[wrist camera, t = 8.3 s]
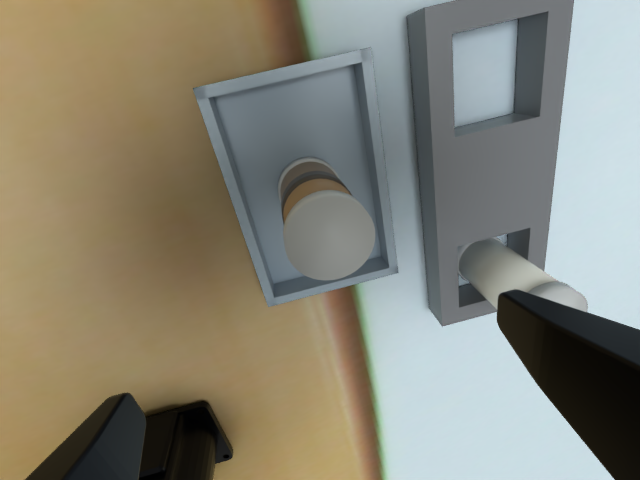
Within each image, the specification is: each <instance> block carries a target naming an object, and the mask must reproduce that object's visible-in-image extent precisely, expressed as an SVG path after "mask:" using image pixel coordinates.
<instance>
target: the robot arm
mask: <svg viewBox="0 0 640 480" xmlns="http://www.w3.org/2000/svg"><path fill="white" fill-rule="evenodd" d="M497 323H498V326H499V328H500V330H501V331H502V333H503V334H504V336H505V337H506V339H507V340H508V342H509V343H510V345H511V346H512V348H513V349H514V351H515V352H516V354H517V355H518V357H519V358H520V360H521V361H522V363H523V364H524V366H525V367H526V369H527V370H528V372H529V373H530V375H531V376H532V378H533V379H534V380H535V382H536V383H537V385H538V386H539V387H540V388H541V390H542V391H543V392H544V394H545V395H546V396H547V397H548V398H549V400H550V401H551V402H552V403H553V405H554V406H555V407H556V408H557V409H558V411H559V412H560V413H561V414H562V416H563V417H564V418H565V419H566V420H567V422H568V423H569V424H570V425H571V427H572V428H573V429H574V430H575V432H576V433H577V434H578V435H579V436H580V438H581V439H582V440H583V441H584V443H585V444H586V445H587V446H588V447H589V449H590V450H591V451H592V452H593V454H594V455H595V456H596V457H597V458H598V460H599V461H600V462H601V463H602V465H603V466H604V467H605V468H606V470H607V471H608V472H609V473H610V474H611V476H612V477H613V478H614V479H615V480H640V330H639V329H636V328H633V327H630V326H627V325H624V324H621V323H618V322H615V321H612V320H609V319H606V318H603V317H600V316H597V315H594V314H591V313H587V312H584V311H581V310H578V309H575V308H572V307H569V306H566V305H563V304H560V303H557V302H554V301H551V300H548V299H545V298H542V297H539V296H536V295H533V294H530V293H527V292H524V291H521V290H518V289H513V290H509V291H506V292H502V293H500V294H499V296H498V304H497ZM232 456H233V449H232V448H231V446H230V444H229V442H228V440H227V438H226V436H225V434H224V433H223V431H222V429H221V427H220V425H219V423H218V421H217V419H216V418H215V416H214V414H213V412H212V410H211V408H210V406H209V405H208V404H207V403H205V402H199V403H196V404H192V405H188V406H185V407H181V408H177V409H174V410H170V411H166V412H163V413H159V414H155V415H152V416H148V417H145V415H144V413H143V411H142V410H141V408H140V407H139V405H138V404H137V402H136V401H135V399H134V398H133V396H132V395H131V394H130V393H122V394H118V395H114V396H111V397H109V398H107V399H106V400H105V401H104V402H103V403H102V404H101V405H100V406H99V407H98V408H97V409H96V410H95V411H94V412H93V413H92V414H91V415H90V416H89V417H88V418H87V419H86V420H85V421H84V422H83V423H82V424H81V425H80V426H79V427H78V428H77V429H76V430H75V431H74V432H73V433H72V434H71V435H70V436H69V437H68V438H67V439H66V440H65V441H64V442H63V443H62V444H61V445H60V446H59V447H58V448H57V449H56V450H55V451H53V452H52V453H51V454H50V455H49V456H48V457H47V458H46V459H45V460H44V461H43V462H42V463H41V464H40V465H39V466H38V467H37V468H36V469H35V470H34V471H33V472H32V473H31V474H30V475H29V476H28V477H27V478H26V479H25V480H213V475H214V468H215V464H216V463H220V462H223V461H227V460H230V459H231V458H232Z"/></svg>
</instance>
